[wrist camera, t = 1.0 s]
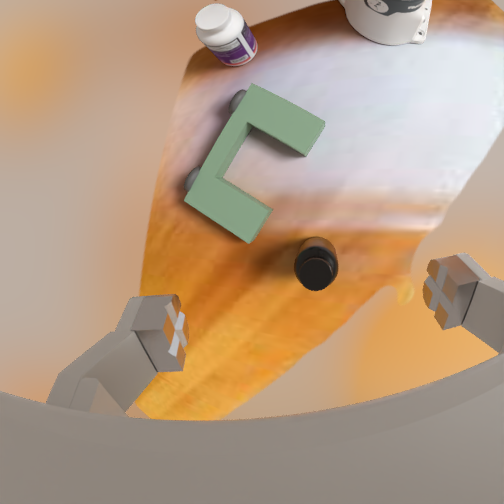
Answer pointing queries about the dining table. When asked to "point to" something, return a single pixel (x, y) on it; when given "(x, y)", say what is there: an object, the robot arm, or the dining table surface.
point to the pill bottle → (225, 34)
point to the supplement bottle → (316, 264)
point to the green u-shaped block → (226, 147)
